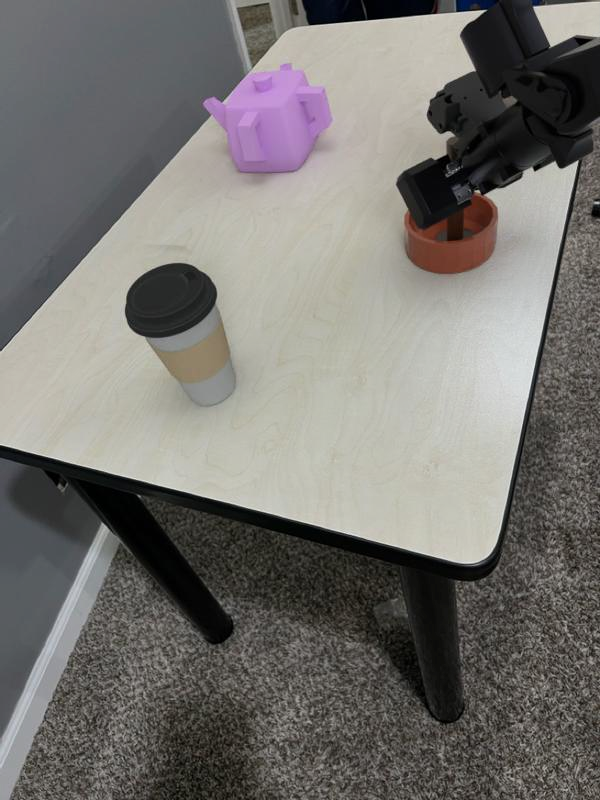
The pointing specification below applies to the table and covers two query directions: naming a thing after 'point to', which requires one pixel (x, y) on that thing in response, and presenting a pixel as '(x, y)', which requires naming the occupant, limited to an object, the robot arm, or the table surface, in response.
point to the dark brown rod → (455, 221)
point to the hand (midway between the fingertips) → (447, 192)
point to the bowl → (454, 253)
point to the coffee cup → (184, 329)
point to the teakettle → (272, 120)
